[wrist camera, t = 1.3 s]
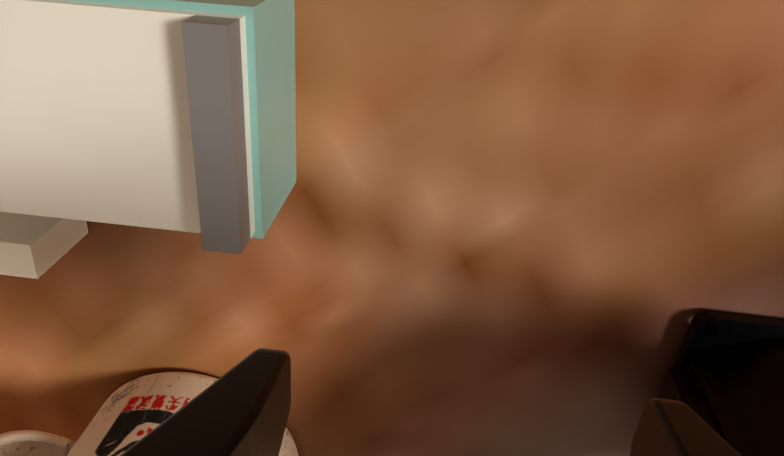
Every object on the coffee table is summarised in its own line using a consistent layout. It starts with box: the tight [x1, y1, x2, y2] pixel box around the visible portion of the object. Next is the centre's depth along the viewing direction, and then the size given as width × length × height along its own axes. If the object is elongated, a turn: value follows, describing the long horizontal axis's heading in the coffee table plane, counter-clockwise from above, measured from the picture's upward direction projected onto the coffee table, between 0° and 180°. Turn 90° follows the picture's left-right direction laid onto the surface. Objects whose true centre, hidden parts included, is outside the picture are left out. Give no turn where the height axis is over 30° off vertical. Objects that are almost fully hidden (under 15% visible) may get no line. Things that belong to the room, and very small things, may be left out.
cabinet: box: [0, 0, 296, 254], centre depth 17 cm, size 8×6×5 cm
